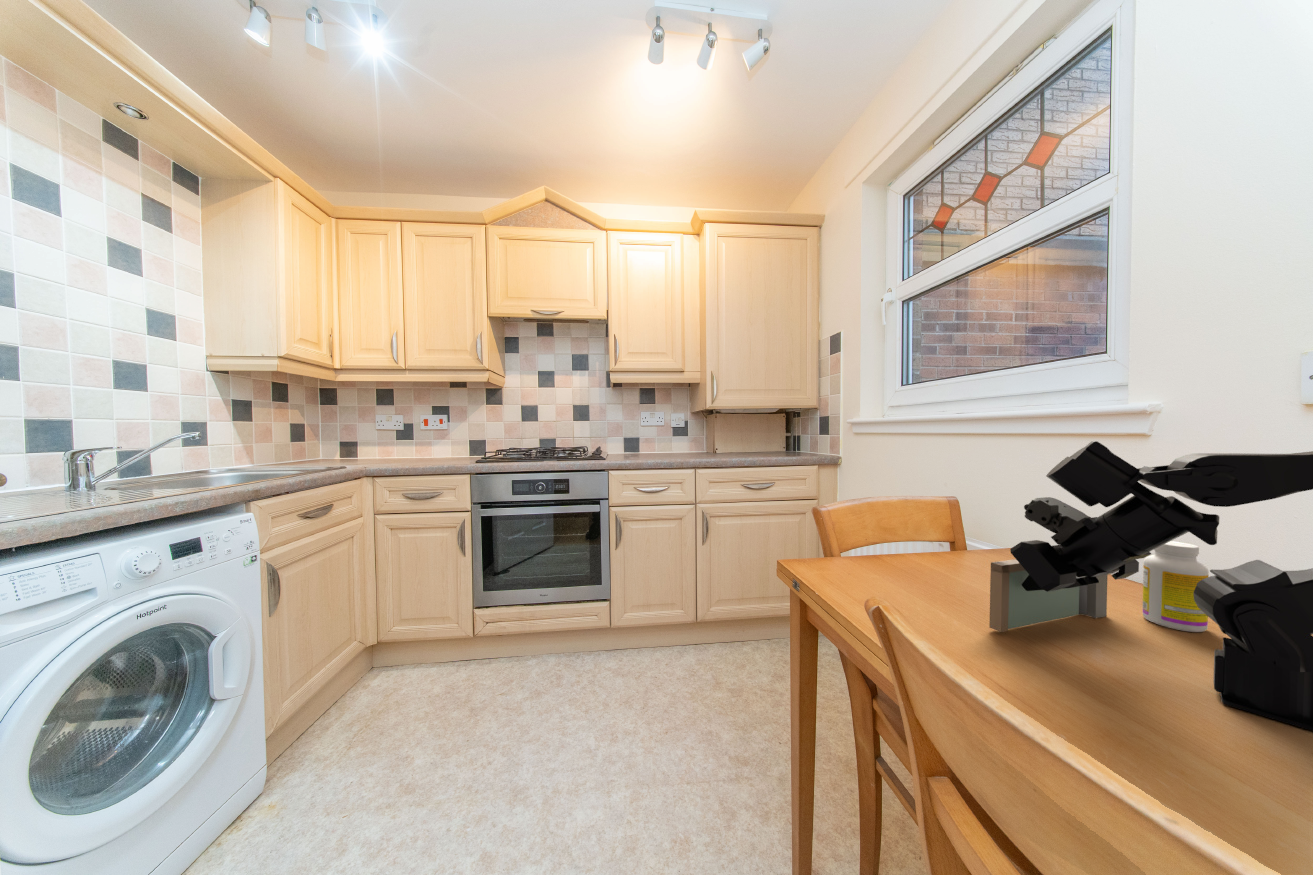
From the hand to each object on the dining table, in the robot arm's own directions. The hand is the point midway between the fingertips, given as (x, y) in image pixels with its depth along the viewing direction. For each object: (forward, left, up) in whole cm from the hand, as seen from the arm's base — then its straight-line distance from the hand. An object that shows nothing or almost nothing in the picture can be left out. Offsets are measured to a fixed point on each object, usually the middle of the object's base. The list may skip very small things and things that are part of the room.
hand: (1025, 587), depth 65 cm
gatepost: (-5, -17, -7) cm, 19 cm away
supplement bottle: (-14, -23, -7) cm, 28 cm away
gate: (-1, -6, -6) cm, 8 cm away
